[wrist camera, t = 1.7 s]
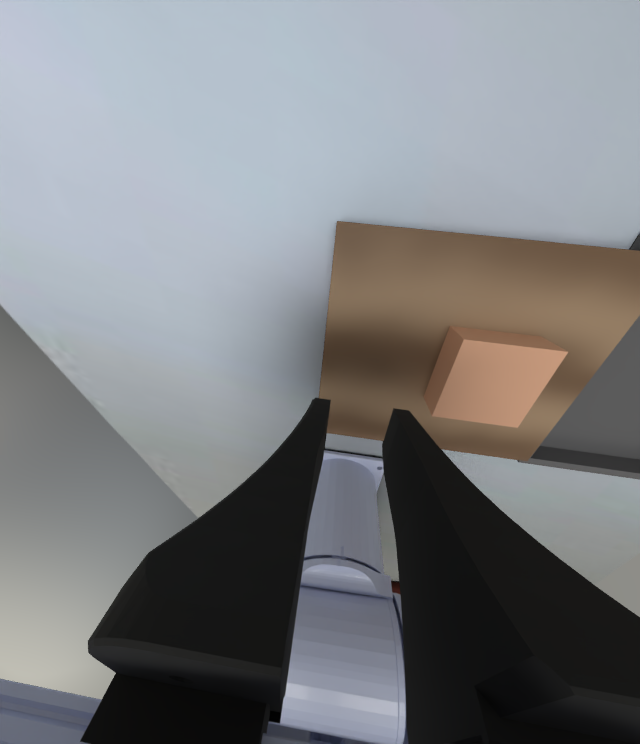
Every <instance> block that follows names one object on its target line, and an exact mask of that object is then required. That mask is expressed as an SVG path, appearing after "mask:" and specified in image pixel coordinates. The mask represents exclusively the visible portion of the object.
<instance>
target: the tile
mask: <svg viewBox="0 0 640 744" xmlns="http://www.w3.org/2000/svg"><path fill="white" fill-rule="evenodd" d="M567 353H568V351H566V350H564V349H562V348H561V347H559V346H557V345H555V344H554V343H552V342H550V341H548V340H546V339H545V338H543V337H541V336H533V335H524V334H515V333H507V332H498V331H490V330H481V329H473V328H464V327H456V326H450V327H449V330H448V332H447V335H446V338H445V340H444V343H443V346H442V349H441V351H440V354H439V357H438V359H437V362H436V365H435V367H434V370H433V373H432V375H431V378H430V381H429V383H428V386H427V389H426V391H425V394H424V399H425V401H426V404H427V406H428V408H429V410H430V413H431V415H432V416H434V417H441V418H449V419H456V420H463V421H471V422H478V423H486V424H493V425H500V426H508V427H515V428H518V427H519V425H520V424H521V422H522V421H523V419H524V418H525V416H526V415H527V413H528V412H529V410H530V409H531V407H532V406H533V404H534V403H535V401H536V400H537V398H538V397H539V395H540V394H541V392H542V391H543V389H544V388H545V386H546V385H547V383H548V382H549V380H550V379H551V377H552V376H553V374H554V373H555V371H556V370H557V368H558V367H559V365H560V364H561V362H562V361H563V359H564V358H565V356H566V355H567Z"/></svg>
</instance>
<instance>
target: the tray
mask: <svg viewBox="0 0 640 744" xmlns="http://www.w3.org/2000/svg"><path fill="white" fill-rule="evenodd" d="M630 250H636V251H640V234H639V236H638V237H637V239H636V240H635V242H634V244H633V245H632V247H631V248H630ZM517 461H518V462H521V463H528V464H535V465H542V466H549V467H556V468H563V469H570V470H577V471H584V472H591V473H598V474H605V475H612V476H619V477H626V478H633V479H640V315H639V317H638V318H637V319H636V321H635V322H634V323H633V325H632V326H631V327H630V328H629V330H628V331H627V332H626V334H625V335H624V336H623V338H622V339H621V340H620V341H619V343H618V344H617V345H616V347H615V348H614V349H613V351H612V352H611V353H610V354H609V356H608V357H607V358H606V360H605V361H604V362H603V364H602V365H601V366H600V367H599V369H598V370H597V371H596V373H595V374H594V375H593V377H592V378H591V379H590V380H589V382H588V383H587V384H586V386H585V387H584V388H583V390H582V391H581V392H580V393H579V395H578V396H577V397H576V399H575V400H574V401H573V403H572V404H571V405H570V407H569V408H568V409H567V410H566V412H565V413H564V414H563V416H562V417H561V418H560V420H559V421H558V422H557V423H556V425H555V426H554V427H553V429H552V430H551V431H550V433H549V434H548V435H547V436H546V438H545V439H544V440H543V442H542V443H541V444H540V446H539V447H538V448H537V449H536V451H535V452H534V453H533V455H532V456H531V457H530V459H529V460H528V461H521V460H517Z"/></svg>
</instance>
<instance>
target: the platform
mask: <svg viewBox="0 0 640 744" xmlns="http://www.w3.org/2000/svg"><path fill="white" fill-rule="evenodd" d="M639 315H640V251H636V250H626V249H616V248H606V247H596V246H585V245H575V244H565V243H555V242H545V241H534V240H524V239H514V238H504V237H494V236H483V235H473V234H463V233H453V232H443V231H432V230H422V229H412V228H402V227H392V226H381V225H371V224H361V223H351V222H341V221H337V226H336V236H335V245H334V255H333V265H332V274H331V284H330V294H329V304H328V313H327V323H326V333H325V342H324V352H323V362H322V371H321V381H320V391H319V398H321V399H328V400H331V402H330V411H329V419H328V426H327V433H331V434H338V435H345V436H352V437H359V438H366V439H373V440H381V441H384V438H385V434H386V431H387V428H388V425H389V421H390V418H391V415H392V411H393V408H395V409H402V410H409V411H410V412H411V413H412V414H413V416H414V417H415V418H416V419H417V421H418V422H419V423H420V424H421V426H422V427H423V428H424V429H425V431H426V432H427V433H428V434H429V436H430V437H431V438H432V439H433V440H434V442H435V443H436V444H437V445H438V446H439V448H440V449H444V450H451V451H458V452H465V453H472V454H479V455H486V456H493V457H500V458H507V459H514V460H521V461H528V460H529V459H530V457H531V456H532V455H533V453H534V452H535V451H536V449H537V448H538V447H539V446H540V444H541V443H542V442H543V440H544V439H545V438H546V436H547V435H548V434H549V433H550V431H551V430H552V429H553V427H554V426H555V425H556V423H557V422H558V421H559V420H560V418H561V417H562V416H563V414H564V413H565V412H566V410H567V409H568V408H569V407H570V405H571V404H572V403H573V401H574V400H575V399H576V397H577V396H578V395H579V393H580V392H581V391H582V390H583V388H584V387H585V386H586V384H587V383H588V382H589V380H590V379H591V378H592V377H593V375H594V374H595V373H596V371H597V370H598V369H599V367H600V366H601V365H602V364H603V362H604V361H605V360H606V358H607V357H608V356H609V354H610V353H611V352H612V351H613V349H614V348H615V347H616V345H617V344H618V343H619V341H620V340H621V339H622V338H623V336H624V335H625V334H626V332H627V331H628V330H629V328H630V327H631V326H632V325H633V323H634V322H635V321H636V319H637V318H638V317H639ZM450 326H456V327H464V328H473V329H481V330H490V331H498V332H507V333H515V334H524V335H533V336H541V337H543V338H545V339H546V340H548V341H550V342H552V343H554V344H555V345H557V346H559V347H561V348H562V349H564V350H566V351H568V353H567V355H566V356H565V358H564V359H563V361H562V362H561V364H560V365H559V367H558V368H557V370H556V371H555V373H554V374H553V376H552V377H551V379H550V380H549V382H548V383H547V385H546V386H545V388H544V389H543V391H542V392H541V394H540V395H539V397H538V398H537V400H536V401H535V403H534V404H533V406H532V407H531V409H530V410H529V412H528V413H527V415H526V416H525V418H524V419H523V421H522V422H521V424H520V425H519V427H518V428H515V427H508V426H500V425H493V424H486V423H478V422H471V421H463V420H456V419H449V418H441V417H434V416H432V415H431V413H430V410H429V408H428V406H427V404H426V401H425V399H424V394H425V391H426V389H427V386H428V383H429V381H430V378H431V375H432V373H433V370H434V367H435V365H436V362H437V359H438V357H439V354H440V351H441V349H442V346H443V343H444V340H445V338H446V335H447V332H448V330H449V327H450Z"/></svg>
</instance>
